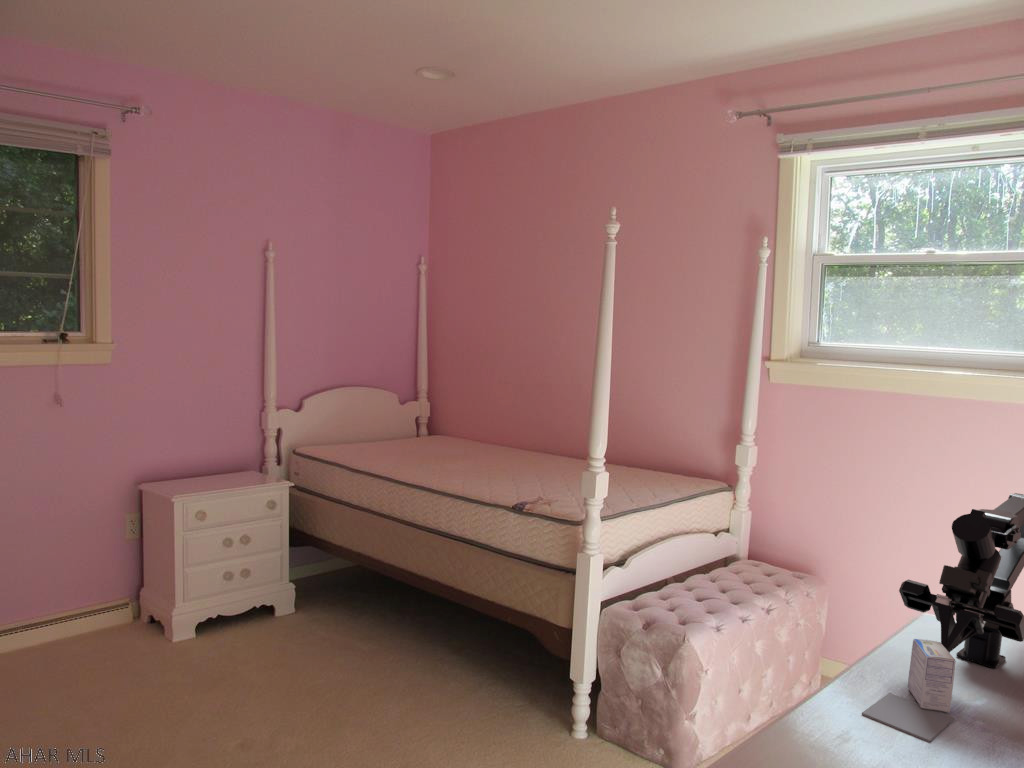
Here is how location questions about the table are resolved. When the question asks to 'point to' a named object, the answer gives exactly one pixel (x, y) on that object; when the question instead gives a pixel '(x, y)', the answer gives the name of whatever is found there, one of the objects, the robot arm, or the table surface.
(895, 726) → the mat
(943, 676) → the medicine box
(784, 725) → the table surface
